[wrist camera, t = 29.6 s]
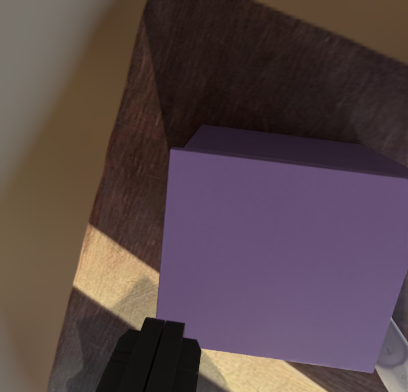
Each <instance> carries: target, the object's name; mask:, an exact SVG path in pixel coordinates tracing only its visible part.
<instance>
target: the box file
mask: <svg viewBox="0 0 408 392" xmlns="http://www.w3.org/2000/svg"><path fill="white" fill-rule="evenodd" d="M184 148H186V149H194V150H202V151H210V152H217V153H225V154H233V155H241V156H249V157H257V158H265V159H273V160H281V161H289V162H297V163H305V164H313V165H321V166H329V167H337V168H345V169H353V170H361V171H369V172H377V173H385V174H393V175H401V176H408V168H407V167H405V166H403V165H401V164H399V163H397V162H395V161H393V160H391V159H389V158H388V157H386V156H384V155H382V154H380V153H378V152H376V151H374V150H372V149H370V148H368V147H366V146H364V145H362V144H354V143H346V142H338V141H330V140H322V139H315V138H307V137H299V136H291V135H283V134H275V133H267V132H259V131H251V130H243V129H235V128H227V127H219V126H211V125H203V124H202V125H201V127H200V128H199V129H198V130H197V132H196V133H195V134H194V135H193V137H192V138H191V139H190V140H189V142H188V143H187V144H186V145H185V147H184Z"/></svg>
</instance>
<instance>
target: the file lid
mask: <svg viewBox="0 0 408 392" xmlns="http://www.w3.org/2000/svg"><path fill="white" fill-rule="evenodd" d="M407 268H408V176H401V175H393V174H385V173H377V172H369V171H361V170H353V169H345V168H337V167H329V166H321V165H313V164H305V163H297V162H289V161H281V160H273V159H265V158H257V157H249V156H241V155H233V154H225V153H217V152H210V151H202V150H194V149H186V148H178V147H172V148H171V149H170V157H169V168H168V180H167V192H166V204H165V216H164V228H163V240H162V252H161V264H160V276H159V288H158V300H157V312H156V319H162V320H165V323H166V320H170V321H176V322H183V323H185V334H184V338H191V339H197V341H198V343H199V346H200V348H202V349H209V350H216V351H223V352H230V353H237V354H244V355H251V356H258V357H265V358H272V359H279V360H286V361H293V362H300V363H307V364H314V365H321V366H328V367H335V368H342V369H349V370H356V371H363V372H370V373H373V370H374V367H375V364H376V361H377V358H378V355H379V352H380V349H381V346H382V343H383V340H384V337H385V334H386V331H387V328H388V325H389V322H390V319H391V316H392V313H393V310H394V307H395V304H396V301H397V298H398V295H399V292H400V289H401V286H402V283H403V280H404V277H405V274H406V271H407Z"/></svg>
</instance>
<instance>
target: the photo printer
mask: <svg viewBox="0 0 408 392" xmlns="http://www.w3.org/2000/svg"><path fill="white" fill-rule="evenodd" d="M375 368H376V370H377V372H378V374H379V376H380V378H381V379H382V381H383V383H384V385H385V386H386V388H387V390H388V391H389V392H408V342H407V340H406V339H405V337H404V336H403V334H402V333H401V331H400V330H399V328H398V327H397V325H396V324H395V322H394V321H393V319H392V317H391V319H390V322H389V325H388V328H387V331H386V334H385V337H384V340H383V343H382V346H381V349H380V352H379V355H378V358H377V361H376V364H375Z"/></svg>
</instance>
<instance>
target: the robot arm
mask: <svg viewBox="0 0 408 392" xmlns="http://www.w3.org/2000/svg"><path fill="white" fill-rule="evenodd" d="M184 334H185V323H183V322H176V321H170V320H166V323H165V320H162V319H156V318H149V317H146V318H145V320H144V323H143V325H142V328H141V331H138V330H131V329H129V330H128V331H127V332H126V333H125V334H124V335H122V336H121V337H120V338H119V340H118V342H117V345H116V347H115V349H114V352H113V353H112V356H111V358H110V361H109V362H108V364H107V367H106V369H105V371H104V373H103V375H102V378H101V380H100V382H99V384H98V386H97V389H96V391H95V392H196V387H197V380H198V372H199V365H200V357H201V348H200V346H199V343H198V341H197V339H191V338H184Z"/></svg>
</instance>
